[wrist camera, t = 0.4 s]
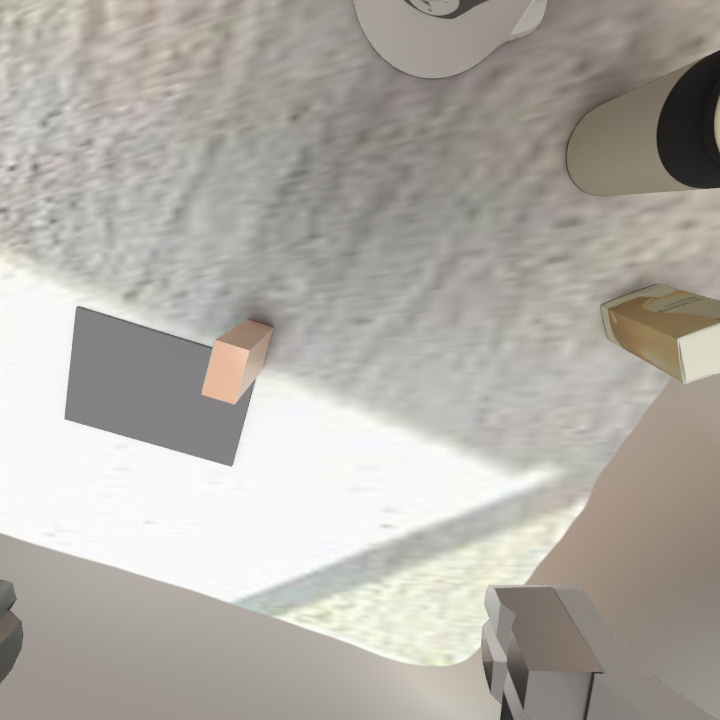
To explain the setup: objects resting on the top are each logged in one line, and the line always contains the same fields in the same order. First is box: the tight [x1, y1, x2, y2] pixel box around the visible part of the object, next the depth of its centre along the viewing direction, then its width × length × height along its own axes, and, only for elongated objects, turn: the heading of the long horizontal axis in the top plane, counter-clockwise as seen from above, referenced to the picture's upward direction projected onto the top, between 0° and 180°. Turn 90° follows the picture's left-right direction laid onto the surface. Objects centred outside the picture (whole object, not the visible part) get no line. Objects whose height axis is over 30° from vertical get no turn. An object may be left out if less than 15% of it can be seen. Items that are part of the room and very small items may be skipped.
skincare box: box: [601, 284, 720, 383], centre depth 38 cm, size 6×4×12 cm
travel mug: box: [567, 50, 720, 196], centre depth 31 cm, size 8×8×18 cm
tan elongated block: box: [201, 319, 274, 405], centre depth 40 cm, size 5×3×11 cm, turn 161°
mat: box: [65, 306, 256, 467], centre depth 48 cm, size 14×20×1 cm
